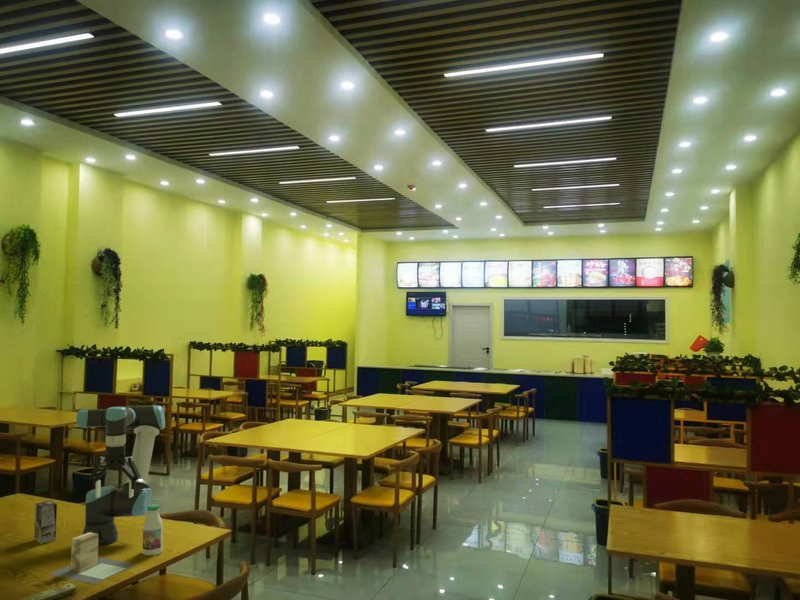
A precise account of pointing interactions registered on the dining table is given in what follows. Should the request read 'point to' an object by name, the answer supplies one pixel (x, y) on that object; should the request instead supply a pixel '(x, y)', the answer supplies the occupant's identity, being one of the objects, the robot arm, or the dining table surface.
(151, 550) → the milk bottle
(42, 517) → the coffee box
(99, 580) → the topple mat
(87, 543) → the maple block
